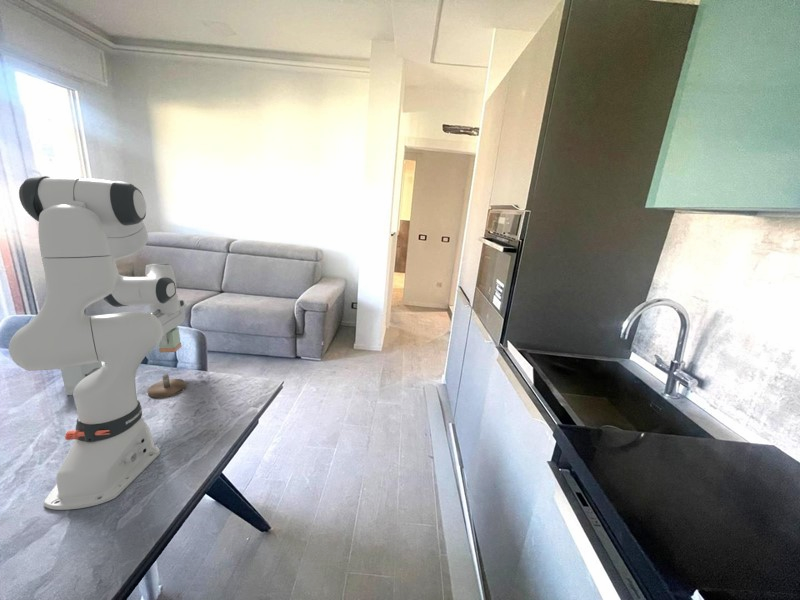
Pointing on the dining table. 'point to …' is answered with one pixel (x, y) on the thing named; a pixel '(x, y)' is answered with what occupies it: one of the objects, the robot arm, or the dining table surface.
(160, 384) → the pin base
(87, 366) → the supplement box
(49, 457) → the dining table surface
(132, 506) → the dining table surface
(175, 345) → the sleeve
